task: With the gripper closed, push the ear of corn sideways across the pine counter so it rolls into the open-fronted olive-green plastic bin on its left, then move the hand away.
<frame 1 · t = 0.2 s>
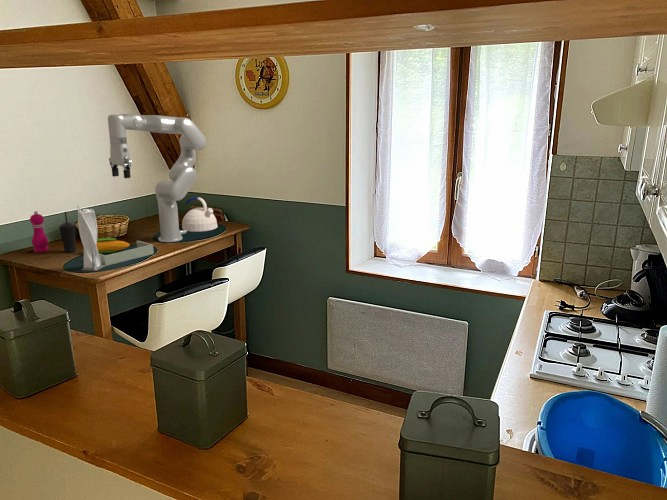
hand: (121, 177, 270), 36 cm above the table, tool pointing down, fingers open, 9 cm apart
drinking cup: (70, 252, 275), on the table
kettle: (200, 228, 325), on the table
corn: (109, 252, 274), on the table
skyscraper: (92, 268, 250), on the table
bin: (122, 257, 266), on the table
pepper mill: (41, 251, 277), on the table
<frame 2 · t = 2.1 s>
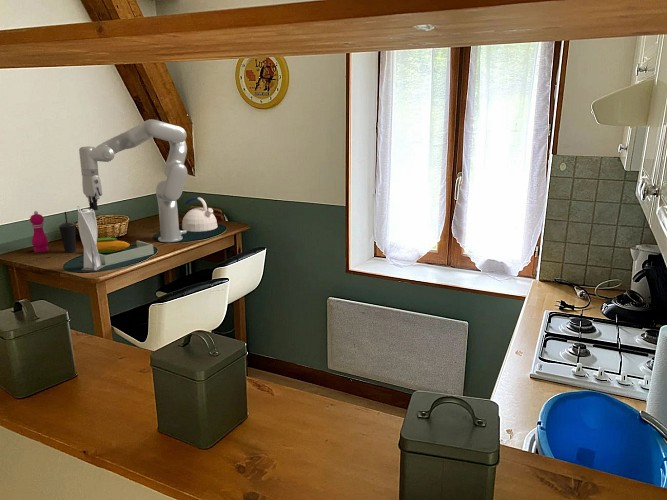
hand: (93, 209, 274), 20 cm above the table, tool pointing down, fingers closed
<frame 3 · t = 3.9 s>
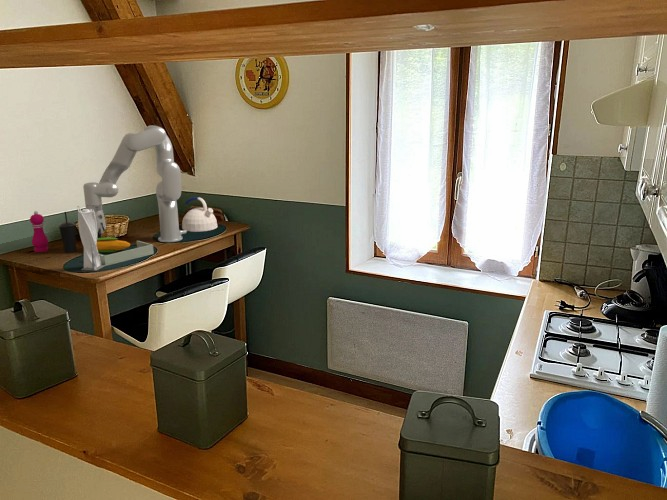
hand: (98, 244, 278), 3 cm above the table, tool pointing down, fingers closed
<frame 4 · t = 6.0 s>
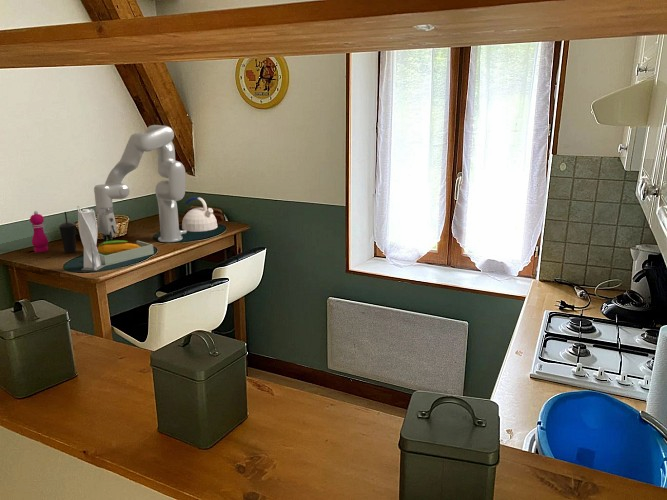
hand: (108, 247, 273), 3 cm above the table, tool pointing down, fingers closed
corn: (120, 255, 270), on the table, touching gripper
everything else where it was.
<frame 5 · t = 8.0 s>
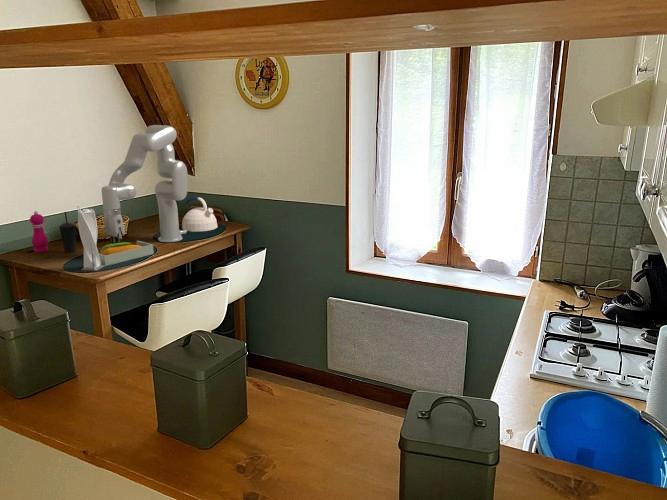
hand: (115, 249, 269), 3 cm above the table, tool pointing down, fingers closed
corn: (122, 257, 266), on the table, touching bin, gripper
everything else where it was.
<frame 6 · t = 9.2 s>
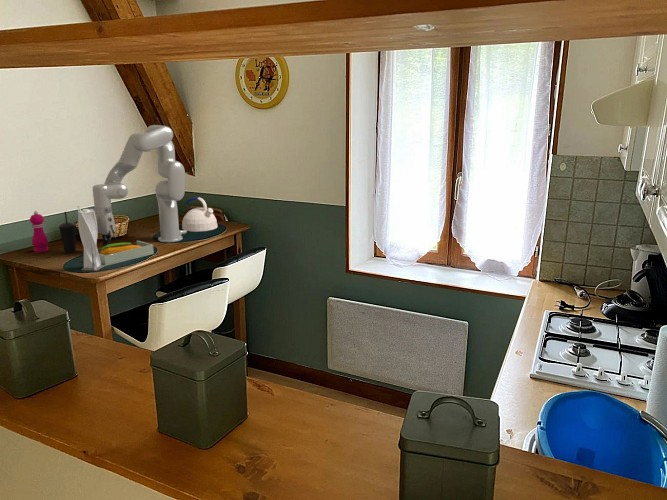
hand: (107, 247, 274), 3 cm above the table, tool pointing down, fingers closed
corn: (123, 257, 266), on the table
everything else where it was.
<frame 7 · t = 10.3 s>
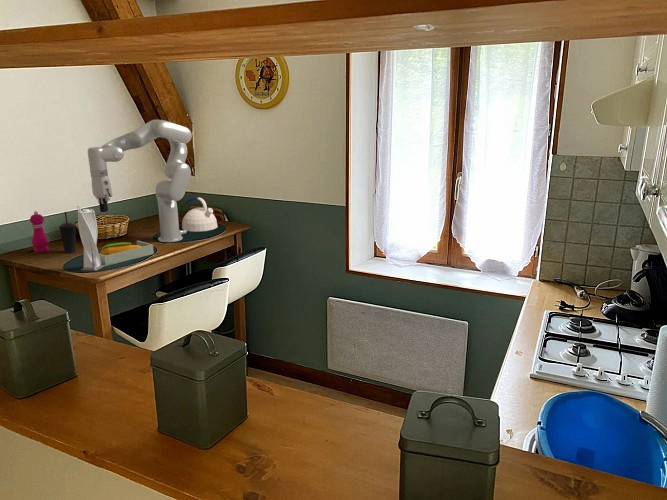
hand: (104, 211, 269), 20 cm above the table, tool pointing down, fingers closed
nothing on the table moved.
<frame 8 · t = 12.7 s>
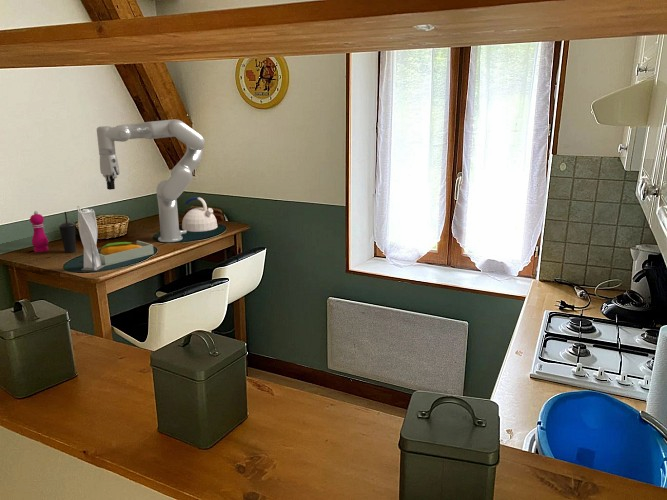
hand: (111, 189, 279), 29 cm above the table, tool pointing down, fingers closed
at the end: corn inside the target area on the bin (1.1 cm from its centre), point 0.0 cm above the bin's base; the gripper is holding nothing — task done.
